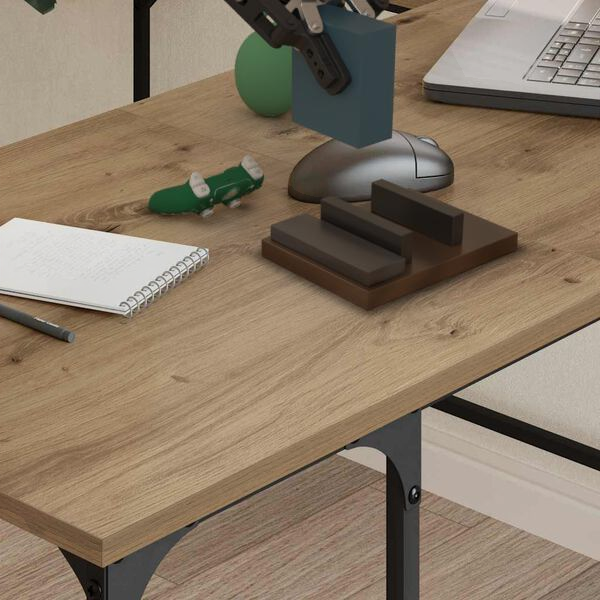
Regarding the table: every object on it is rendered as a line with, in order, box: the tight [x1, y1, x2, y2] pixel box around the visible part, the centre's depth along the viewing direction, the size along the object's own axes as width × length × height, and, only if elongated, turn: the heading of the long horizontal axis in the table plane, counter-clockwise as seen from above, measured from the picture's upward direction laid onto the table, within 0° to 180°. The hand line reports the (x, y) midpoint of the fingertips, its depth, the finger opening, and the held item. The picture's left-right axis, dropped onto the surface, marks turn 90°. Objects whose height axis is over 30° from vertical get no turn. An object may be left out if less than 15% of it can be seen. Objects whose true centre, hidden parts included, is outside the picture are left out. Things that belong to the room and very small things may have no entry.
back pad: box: [291, 4, 397, 150], centre depth 97 cm, size 3×7×8 cm, turn 41°
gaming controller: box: [147, 154, 265, 219], centre depth 116 cm, size 9×4×6 cm
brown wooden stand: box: [260, 178, 519, 311], centre depth 109 cm, size 16×12×4 cm
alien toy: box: [234, 12, 292, 117], centre depth 136 cm, size 7×8×10 cm
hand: (362, 82), depth 96 cm, fingers closed on back pad, 3 cm apart
